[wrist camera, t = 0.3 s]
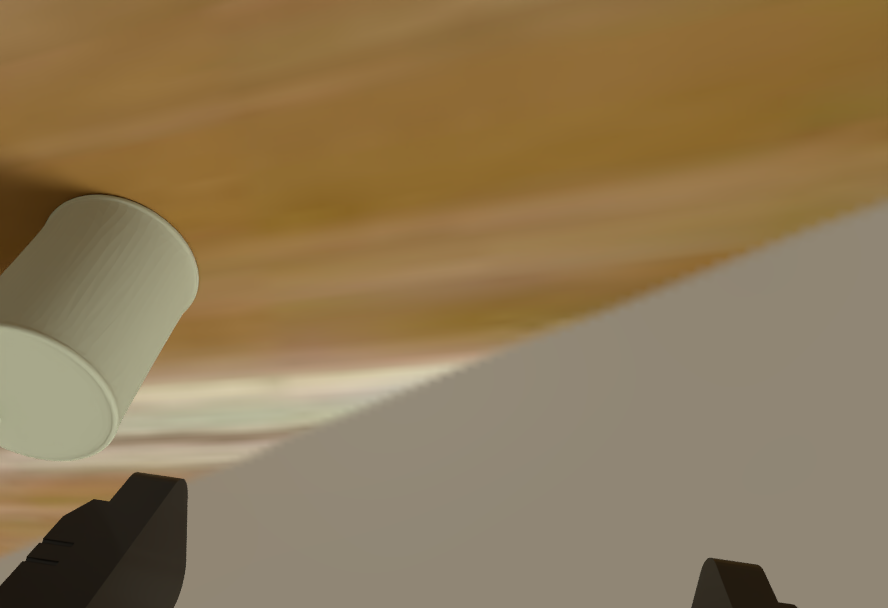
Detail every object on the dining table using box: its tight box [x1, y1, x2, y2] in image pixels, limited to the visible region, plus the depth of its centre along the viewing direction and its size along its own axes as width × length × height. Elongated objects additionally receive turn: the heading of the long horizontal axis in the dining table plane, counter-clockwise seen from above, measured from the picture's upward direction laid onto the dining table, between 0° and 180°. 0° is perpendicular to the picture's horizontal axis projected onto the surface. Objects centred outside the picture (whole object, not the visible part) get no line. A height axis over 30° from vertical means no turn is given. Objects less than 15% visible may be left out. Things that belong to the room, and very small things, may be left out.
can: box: [0, 195, 199, 461], centre depth 45 cm, size 9×9×12 cm
